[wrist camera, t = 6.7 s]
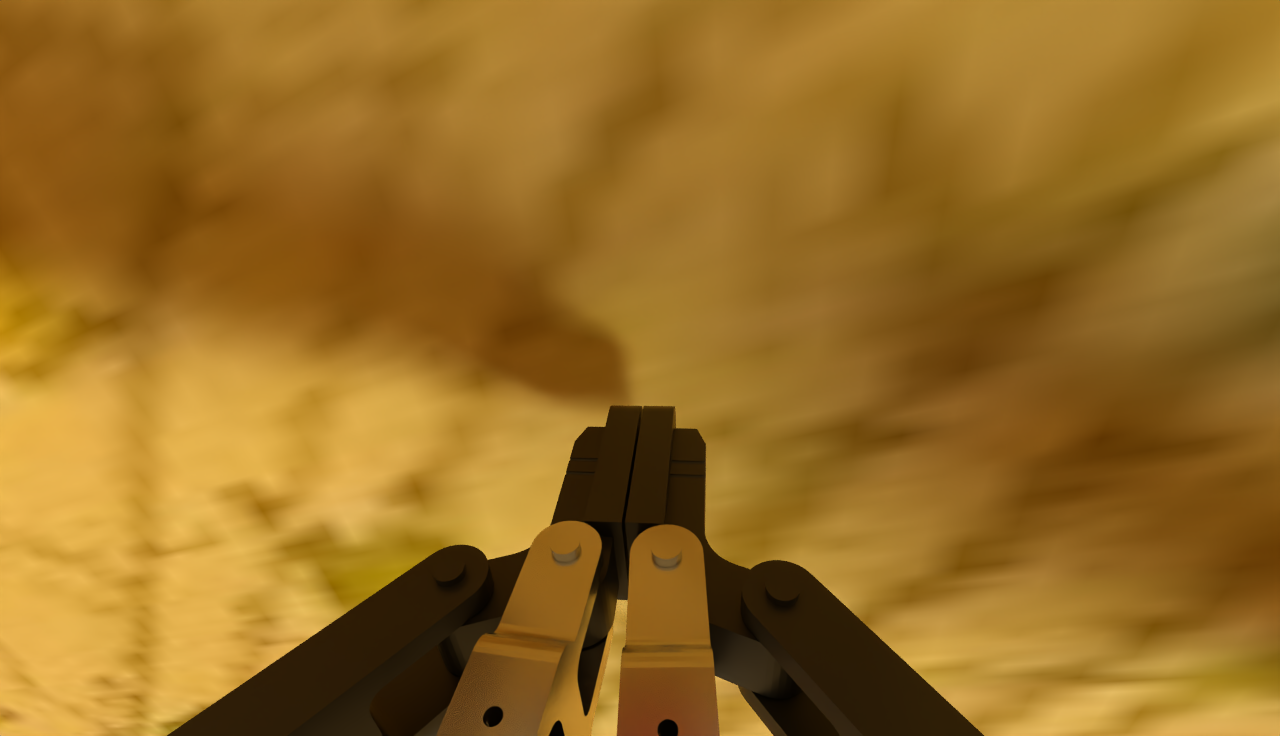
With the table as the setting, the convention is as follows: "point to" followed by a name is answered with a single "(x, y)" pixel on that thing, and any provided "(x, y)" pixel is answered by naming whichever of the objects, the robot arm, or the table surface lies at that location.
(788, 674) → the robot arm
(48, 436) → the table surface
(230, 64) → the table surface
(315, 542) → the table surface
